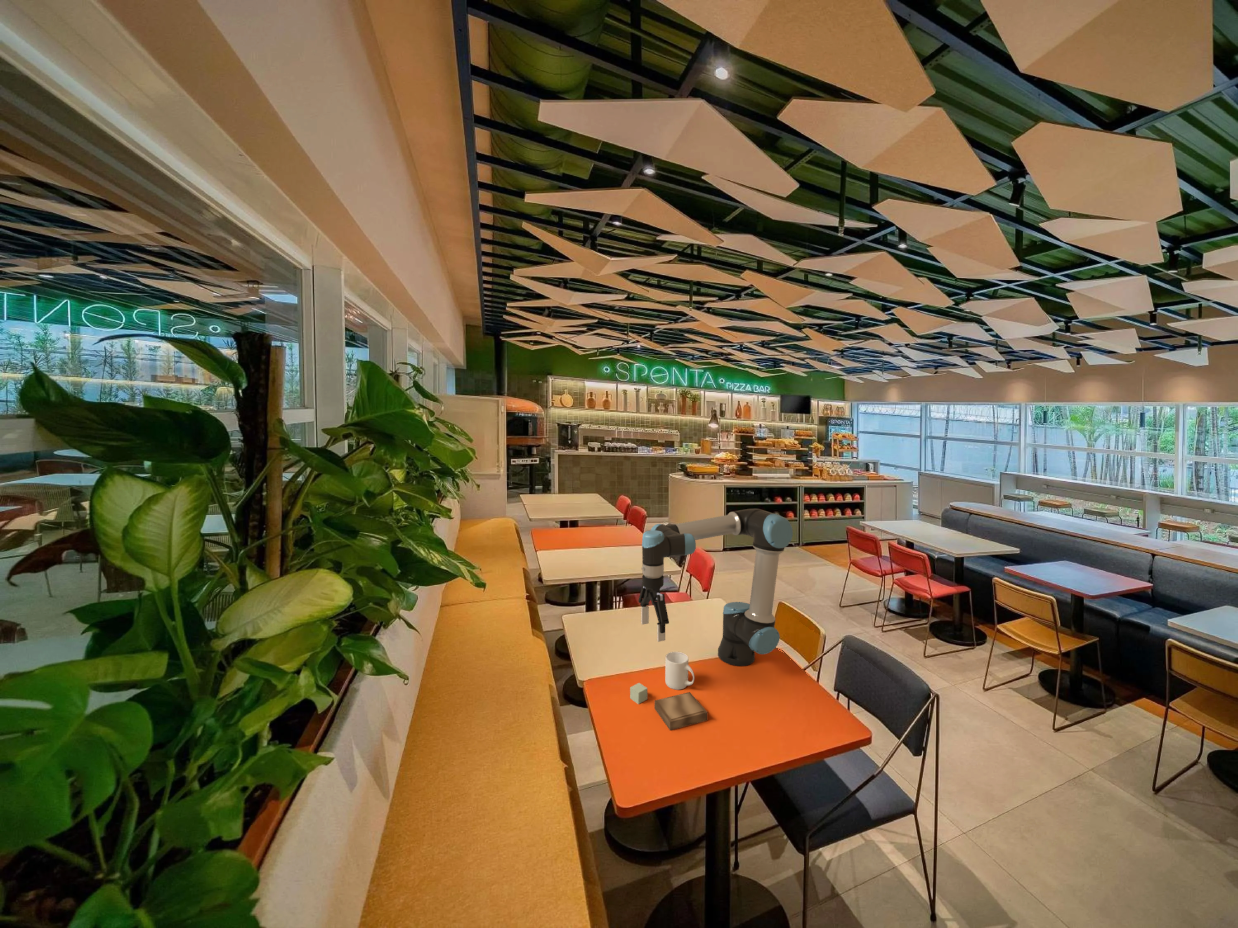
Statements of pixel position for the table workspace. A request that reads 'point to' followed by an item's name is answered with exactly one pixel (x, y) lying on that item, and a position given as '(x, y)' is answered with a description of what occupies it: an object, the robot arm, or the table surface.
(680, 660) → the mug
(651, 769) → the table surface
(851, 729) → the table surface
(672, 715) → the slab
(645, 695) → the sage block
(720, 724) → the table surface
